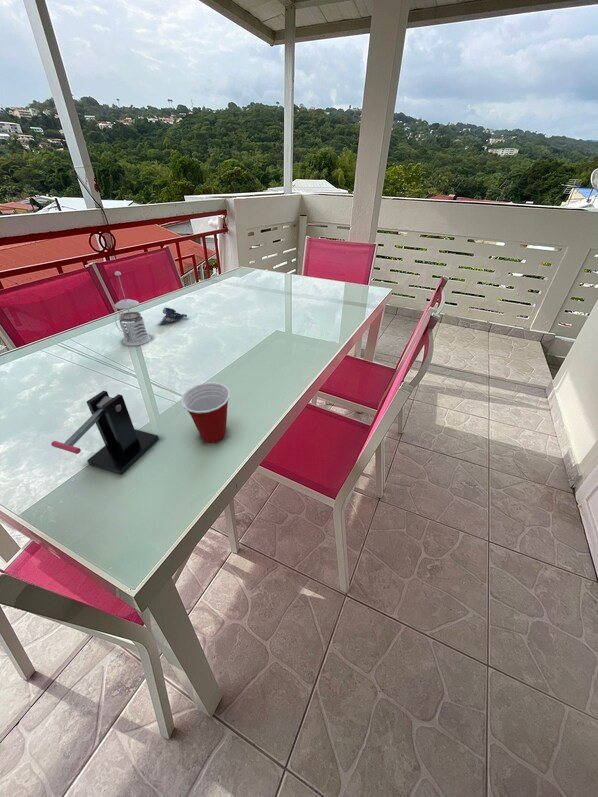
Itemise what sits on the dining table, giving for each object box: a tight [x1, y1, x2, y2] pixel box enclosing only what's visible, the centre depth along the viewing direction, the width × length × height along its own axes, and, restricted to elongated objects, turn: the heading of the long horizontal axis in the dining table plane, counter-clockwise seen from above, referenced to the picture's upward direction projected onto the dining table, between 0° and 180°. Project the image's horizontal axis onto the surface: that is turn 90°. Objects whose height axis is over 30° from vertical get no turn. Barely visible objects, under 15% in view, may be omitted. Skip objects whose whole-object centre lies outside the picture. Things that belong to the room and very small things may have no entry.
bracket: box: [86, 390, 159, 475], centre depth 71 cm, size 12×9×15 cm
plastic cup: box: [180, 381, 231, 443], centre depth 77 cm, size 11×11×12 cm
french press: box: [113, 270, 152, 347], centre depth 117 cm, size 10×12×25 cm
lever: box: [50, 396, 113, 455], centre depth 65 cm, size 13×6×2 cm, turn 161°
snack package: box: [157, 307, 188, 325], centre depth 140 cm, size 12×6×12 cm
